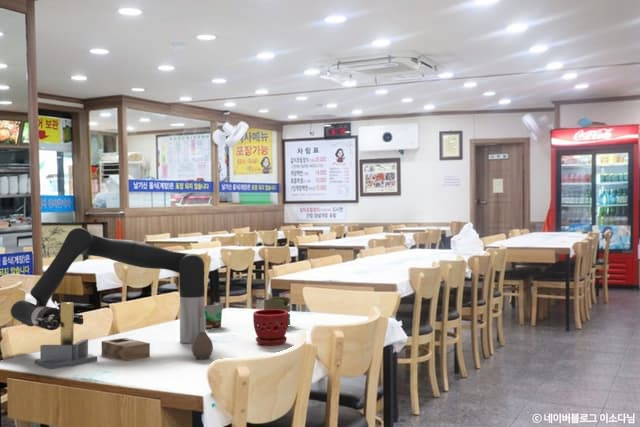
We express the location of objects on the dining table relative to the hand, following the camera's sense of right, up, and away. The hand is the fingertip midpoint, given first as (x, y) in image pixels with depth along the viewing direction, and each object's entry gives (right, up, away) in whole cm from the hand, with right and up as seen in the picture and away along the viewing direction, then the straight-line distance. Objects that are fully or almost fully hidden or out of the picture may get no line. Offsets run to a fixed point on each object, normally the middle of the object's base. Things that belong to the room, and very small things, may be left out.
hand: (69, 322), depth 219 cm
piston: (+63, -13, +72) cm, 96 cm away
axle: (-1, -12, +1) cm, 12 cm away
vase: (+42, -13, +7) cm, 45 cm away
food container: (+37, -13, +69) cm, 79 cm away
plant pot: (+63, -13, +33) cm, 72 cm away
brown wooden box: (+15, -13, +12) cm, 23 cm away
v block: (-1, -13, +1) cm, 13 cm away
